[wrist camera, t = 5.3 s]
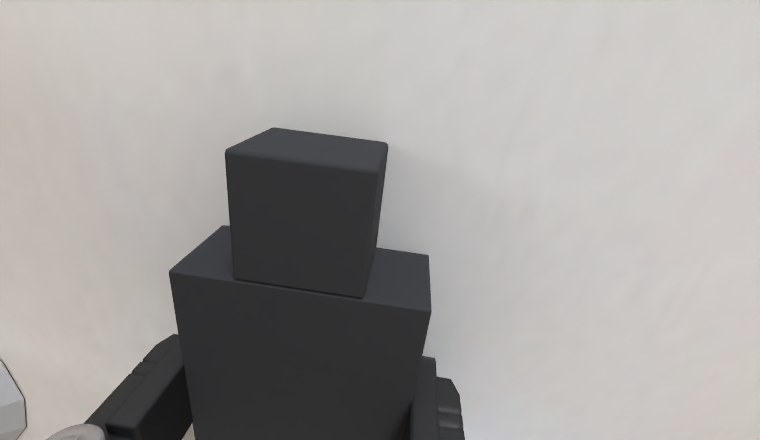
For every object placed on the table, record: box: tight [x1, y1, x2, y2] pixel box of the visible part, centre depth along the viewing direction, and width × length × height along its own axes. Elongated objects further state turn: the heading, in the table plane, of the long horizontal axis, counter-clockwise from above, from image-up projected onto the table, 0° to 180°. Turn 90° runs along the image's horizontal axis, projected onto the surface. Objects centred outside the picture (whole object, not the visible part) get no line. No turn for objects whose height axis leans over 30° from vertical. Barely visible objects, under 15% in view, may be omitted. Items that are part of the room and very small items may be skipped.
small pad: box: [169, 128, 431, 440], centre depth 10 cm, size 11×6×2 cm, turn 173°
